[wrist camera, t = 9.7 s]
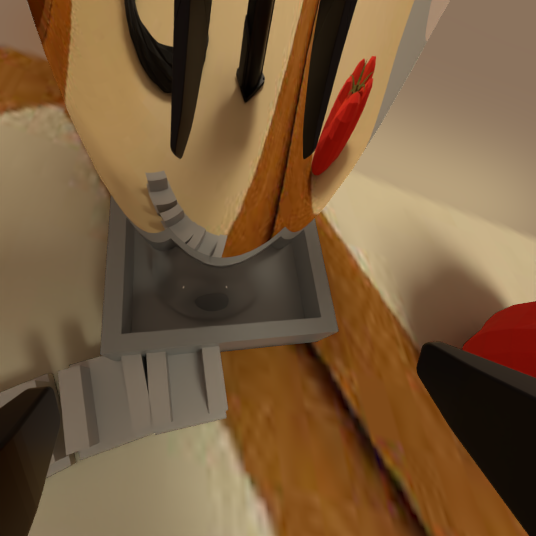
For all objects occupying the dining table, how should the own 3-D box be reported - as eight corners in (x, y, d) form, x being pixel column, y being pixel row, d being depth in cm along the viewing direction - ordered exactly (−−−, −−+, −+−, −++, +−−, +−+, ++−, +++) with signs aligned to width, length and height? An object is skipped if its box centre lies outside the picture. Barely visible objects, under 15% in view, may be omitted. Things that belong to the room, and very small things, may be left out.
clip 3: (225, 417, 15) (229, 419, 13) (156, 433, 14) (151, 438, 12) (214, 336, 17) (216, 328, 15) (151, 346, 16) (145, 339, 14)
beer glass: (129, 227, 17) (-118, -424, 4) (247, 203, 19) (367, -250, 6) (162, 348, 15) (-136, -106, 2) (289, 306, 17) (624, -30, 4)
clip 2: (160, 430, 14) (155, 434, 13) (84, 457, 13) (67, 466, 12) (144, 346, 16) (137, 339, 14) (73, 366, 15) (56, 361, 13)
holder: (316, 341, 18) (338, 331, 15) (117, 362, 15) (99, 354, 12) (288, 189, 21) (302, 159, 19) (125, 185, 19) (114, 149, 16)
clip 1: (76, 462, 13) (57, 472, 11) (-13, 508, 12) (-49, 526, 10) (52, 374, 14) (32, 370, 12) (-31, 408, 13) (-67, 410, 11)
